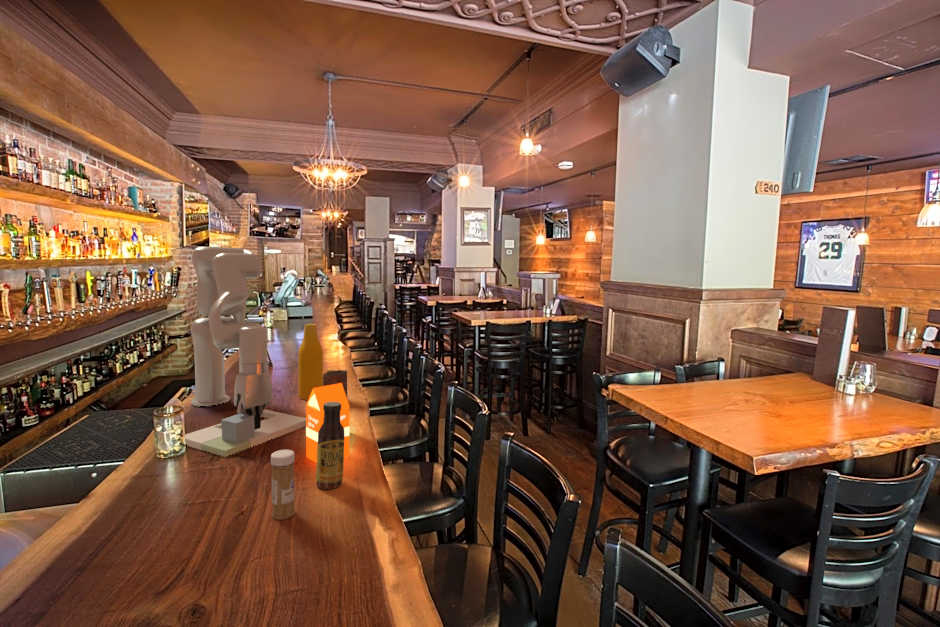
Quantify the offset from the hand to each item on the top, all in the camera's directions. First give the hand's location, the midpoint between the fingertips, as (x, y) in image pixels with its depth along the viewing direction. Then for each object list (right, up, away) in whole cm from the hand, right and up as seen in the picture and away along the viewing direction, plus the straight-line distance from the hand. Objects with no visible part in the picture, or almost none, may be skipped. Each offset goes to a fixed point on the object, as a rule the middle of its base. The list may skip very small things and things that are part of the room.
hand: (254, 428), depth 138 cm
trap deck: (-4, -3, +4) cm, 6 cm away
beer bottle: (+1, +1, +45) cm, 45 cm away
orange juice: (+25, -5, -11) cm, 28 cm away
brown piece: (+22, -4, +6) cm, 23 cm away
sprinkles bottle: (+25, -8, -41) cm, 49 cm away
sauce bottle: (+31, -7, -27) cm, 42 cm away
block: (-2, -2, -5) cm, 6 cm away
